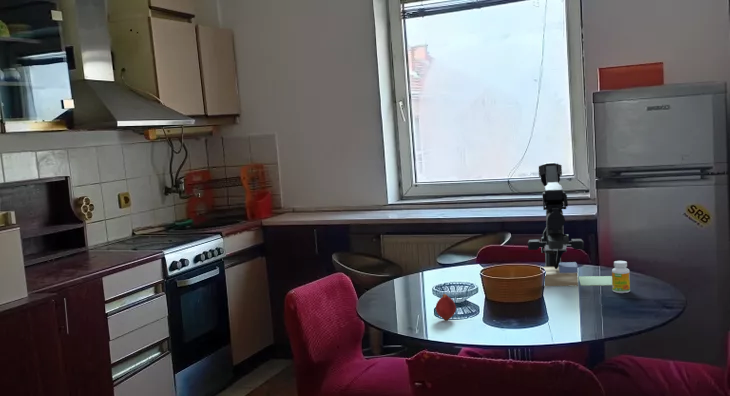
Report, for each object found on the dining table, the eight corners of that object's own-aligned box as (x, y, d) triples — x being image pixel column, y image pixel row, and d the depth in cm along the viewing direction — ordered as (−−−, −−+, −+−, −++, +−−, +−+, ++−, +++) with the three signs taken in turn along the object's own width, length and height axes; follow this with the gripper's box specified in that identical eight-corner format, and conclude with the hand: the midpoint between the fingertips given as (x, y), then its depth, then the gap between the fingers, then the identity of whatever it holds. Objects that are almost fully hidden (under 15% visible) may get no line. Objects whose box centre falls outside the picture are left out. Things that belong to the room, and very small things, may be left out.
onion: (443, 316, 210) (442, 290, 209) (460, 318, 206) (458, 292, 206) (432, 321, 206) (431, 294, 205) (449, 324, 202) (448, 297, 201)
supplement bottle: (612, 293, 225) (612, 263, 224) (612, 289, 230) (611, 260, 229) (630, 293, 223) (629, 263, 222) (629, 289, 228) (628, 260, 227)
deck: (540, 277, 253) (540, 266, 252) (575, 277, 250) (574, 266, 250) (541, 286, 240) (541, 274, 240) (577, 285, 237) (577, 274, 237)
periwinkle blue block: (558, 268, 248) (558, 262, 248) (576, 267, 247) (576, 262, 247) (559, 272, 241) (559, 267, 241) (577, 272, 239) (577, 266, 239)
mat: (578, 277, 250) (578, 276, 250) (613, 276, 247) (613, 276, 247) (580, 285, 237) (580, 284, 237) (618, 285, 234) (618, 284, 234)
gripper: (527, 228, 238) (528, 273, 239) (584, 227, 233) (585, 273, 235) (527, 224, 248) (528, 267, 250) (582, 222, 244) (583, 266, 245)
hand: (556, 268), depth 245 cm, fingers closed
